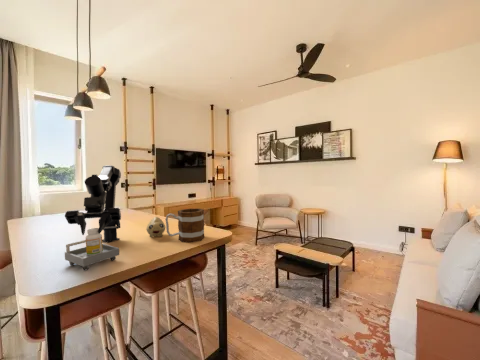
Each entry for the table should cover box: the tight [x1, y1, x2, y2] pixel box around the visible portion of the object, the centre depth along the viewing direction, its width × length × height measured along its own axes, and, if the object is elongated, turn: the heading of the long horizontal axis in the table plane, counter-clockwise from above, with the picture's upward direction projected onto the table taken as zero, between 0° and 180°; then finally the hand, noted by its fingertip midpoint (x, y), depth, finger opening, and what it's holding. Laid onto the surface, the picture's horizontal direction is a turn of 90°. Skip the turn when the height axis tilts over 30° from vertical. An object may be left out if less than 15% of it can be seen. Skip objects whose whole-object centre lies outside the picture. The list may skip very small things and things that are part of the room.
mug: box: [165, 208, 206, 243], centre depth 119 cm, size 20×14×15 cm
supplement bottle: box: [85, 227, 103, 256], centre depth 89 cm, size 5×5×10 cm
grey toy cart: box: [64, 239, 120, 271], centre depth 89 cm, size 14×13×8 cm
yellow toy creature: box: [145, 216, 166, 238], centre depth 124 cm, size 10×12×11 cm
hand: (91, 233), depth 88 cm, fingers open, 5 cm apart
